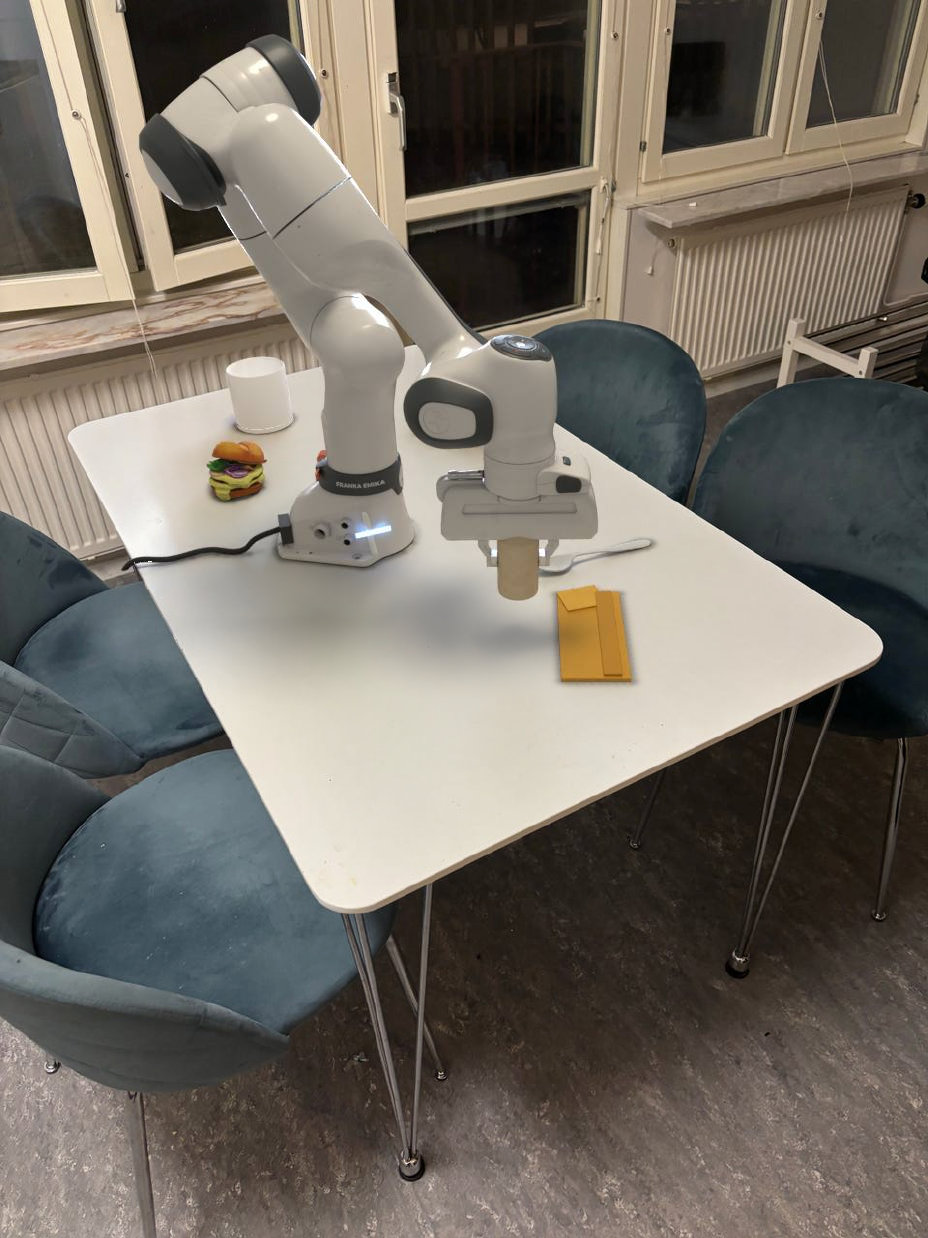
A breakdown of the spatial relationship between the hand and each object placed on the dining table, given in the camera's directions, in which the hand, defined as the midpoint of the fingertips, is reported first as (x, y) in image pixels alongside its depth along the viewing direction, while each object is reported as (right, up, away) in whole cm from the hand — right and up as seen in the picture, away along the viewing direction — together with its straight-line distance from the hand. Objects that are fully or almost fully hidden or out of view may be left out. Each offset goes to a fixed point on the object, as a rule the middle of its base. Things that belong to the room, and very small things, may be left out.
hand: (518, 564), depth 120 cm
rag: (+10, -9, +5) cm, 15 cm away
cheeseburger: (-48, +17, +46) cm, 69 cm away
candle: (0, -3, +3) cm, 4 cm away
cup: (-49, +34, +70) cm, 91 cm away
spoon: (+13, +2, +21) cm, 25 cm away
